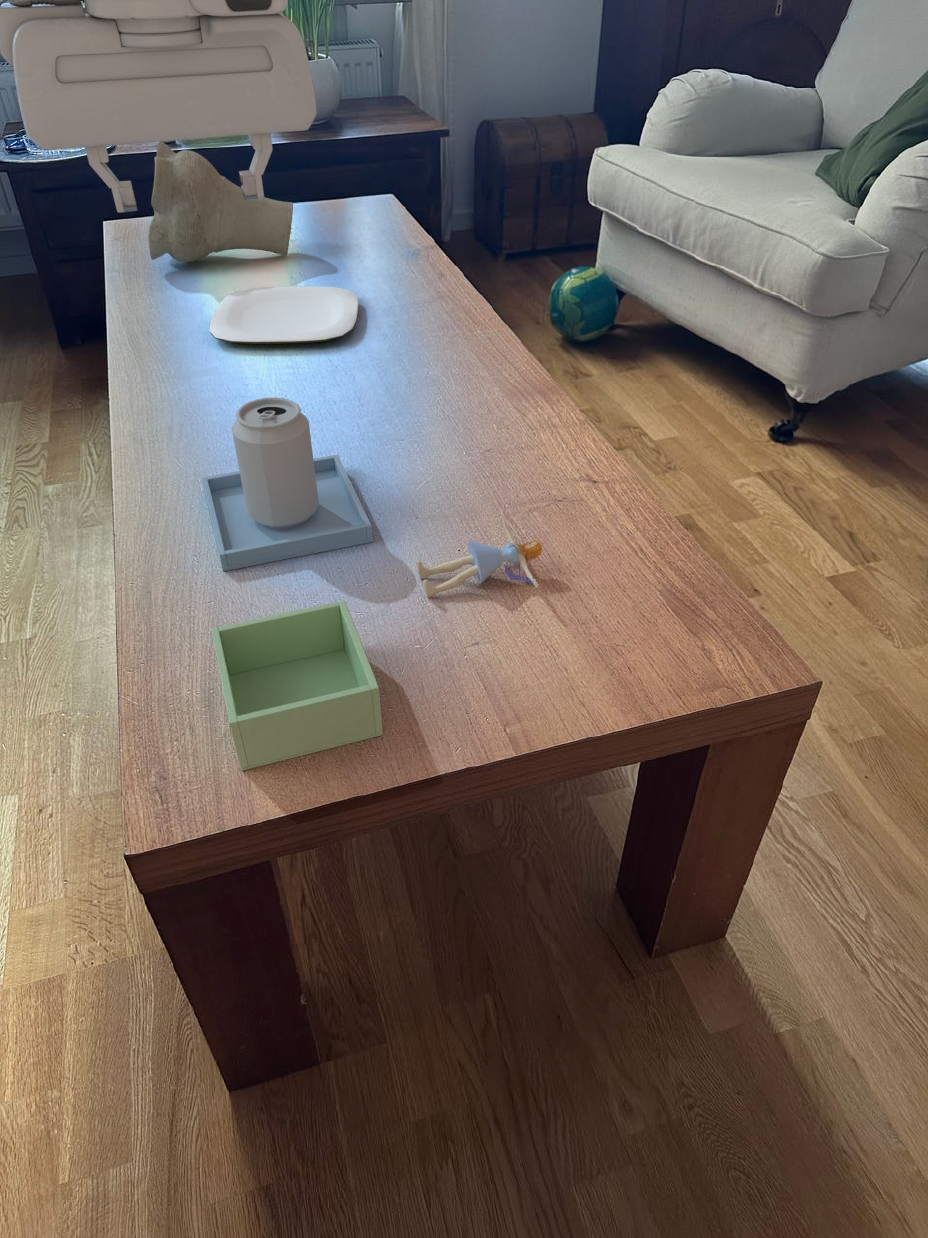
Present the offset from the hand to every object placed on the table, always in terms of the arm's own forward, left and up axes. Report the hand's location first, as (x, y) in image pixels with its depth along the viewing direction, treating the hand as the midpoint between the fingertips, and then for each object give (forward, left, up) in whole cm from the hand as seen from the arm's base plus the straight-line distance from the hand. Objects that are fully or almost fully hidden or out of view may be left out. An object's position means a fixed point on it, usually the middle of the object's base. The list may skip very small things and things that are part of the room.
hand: (191, 203), depth 67 cm
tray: (+4, +6, -33) cm, 34 cm away
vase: (+10, +90, -33) cm, 96 cm away
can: (+4, +6, -33) cm, 34 cm away
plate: (+14, +59, -33) cm, 69 cm away
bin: (0, -22, -33) cm, 40 cm away
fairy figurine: (+20, -11, -33) cm, 40 cm away
